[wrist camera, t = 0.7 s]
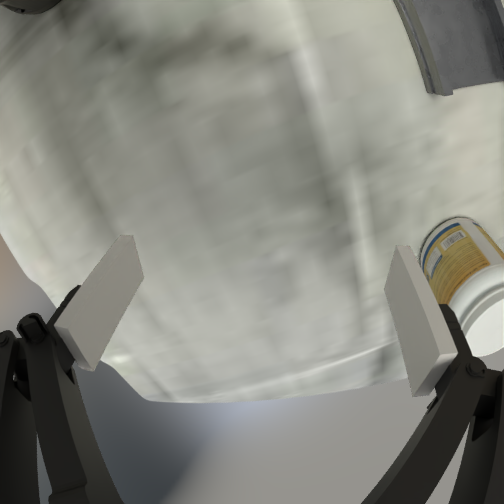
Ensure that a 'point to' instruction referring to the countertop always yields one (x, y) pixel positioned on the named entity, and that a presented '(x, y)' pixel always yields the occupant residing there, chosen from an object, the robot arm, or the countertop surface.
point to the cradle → (455, 41)
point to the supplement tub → (468, 281)
